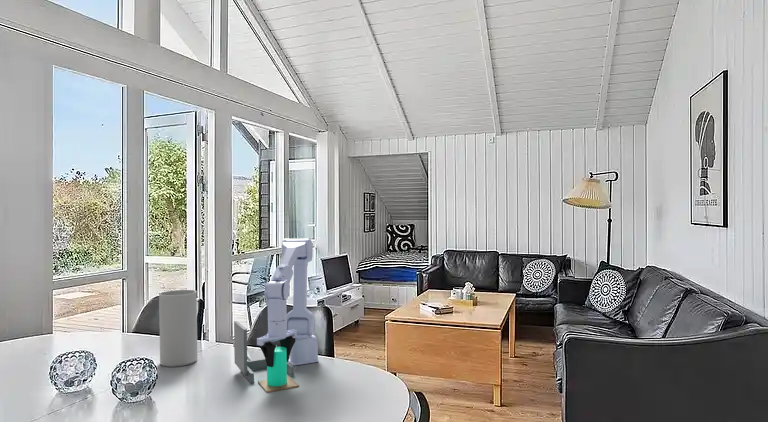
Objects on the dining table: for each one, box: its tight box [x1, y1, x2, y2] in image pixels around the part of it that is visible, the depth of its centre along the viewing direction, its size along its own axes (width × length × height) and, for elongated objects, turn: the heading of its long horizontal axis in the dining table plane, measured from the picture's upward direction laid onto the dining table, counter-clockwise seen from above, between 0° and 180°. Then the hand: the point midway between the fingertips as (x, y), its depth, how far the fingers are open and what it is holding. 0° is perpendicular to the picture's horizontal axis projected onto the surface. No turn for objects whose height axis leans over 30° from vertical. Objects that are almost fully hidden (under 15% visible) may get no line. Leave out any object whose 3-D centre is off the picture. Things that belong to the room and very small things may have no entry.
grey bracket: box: [232, 320, 295, 384], centre depth 171 cm, size 16×15×17 cm
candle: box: [266, 344, 288, 386], centre depth 160 cm, size 6×6×12 cm
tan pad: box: [257, 375, 300, 394], centre depth 160 cm, size 10×10×1 cm
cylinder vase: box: [158, 289, 198, 368], centre depth 186 cm, size 12×12×25 cm
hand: (277, 363), depth 160 cm, fingers closed on candle, 6 cm apart
